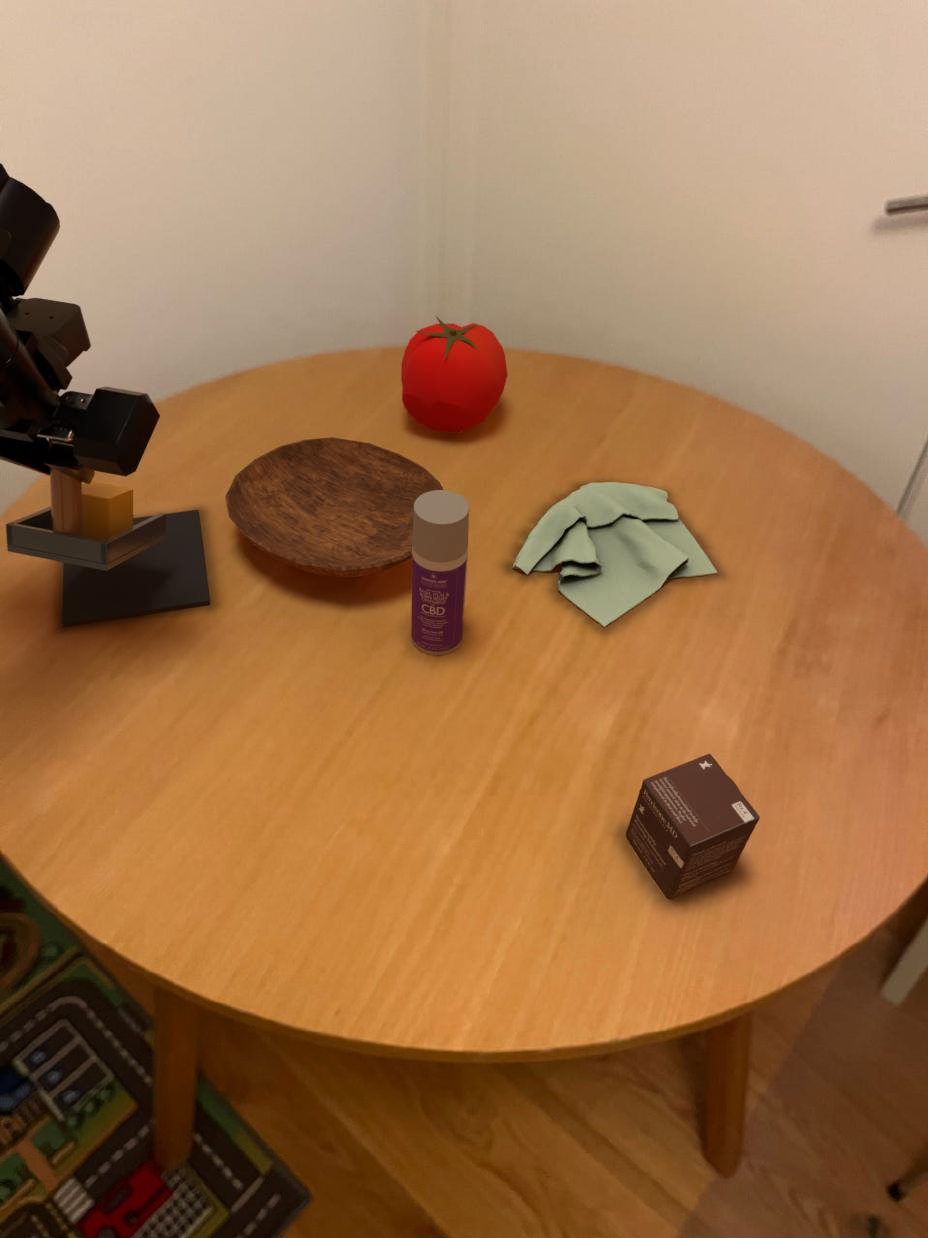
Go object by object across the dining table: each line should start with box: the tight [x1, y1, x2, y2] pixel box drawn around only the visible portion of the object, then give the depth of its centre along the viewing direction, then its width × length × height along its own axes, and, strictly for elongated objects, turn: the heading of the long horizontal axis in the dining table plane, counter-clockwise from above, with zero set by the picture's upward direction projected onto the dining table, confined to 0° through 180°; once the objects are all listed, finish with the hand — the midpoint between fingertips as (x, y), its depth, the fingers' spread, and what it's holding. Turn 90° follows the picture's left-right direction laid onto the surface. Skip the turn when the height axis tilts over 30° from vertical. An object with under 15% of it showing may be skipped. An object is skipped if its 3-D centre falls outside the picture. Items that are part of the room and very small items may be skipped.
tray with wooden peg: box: [5, 438, 167, 571], centre depth 78 cm, size 10×9×13 cm
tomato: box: [400, 315, 508, 434], centre depth 106 cm, size 12×13×12 cm
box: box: [625, 753, 761, 899], centre depth 66 cm, size 6×6×7 cm
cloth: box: [512, 481, 718, 628], centre depth 93 cm, size 20×22×2 cm
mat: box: [61, 509, 211, 628], centre depth 89 cm, size 13×14×1 cm
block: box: [82, 480, 134, 540], centre depth 81 cm, size 4×4×4 cm
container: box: [411, 489, 470, 656], centre depth 79 cm, size 5×5×15 cm
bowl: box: [224, 436, 444, 578], centre depth 92 cm, size 20×22×5 cm
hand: (75, 476), depth 76 cm, fingers closed on tray with wooden peg, 2 cm apart
